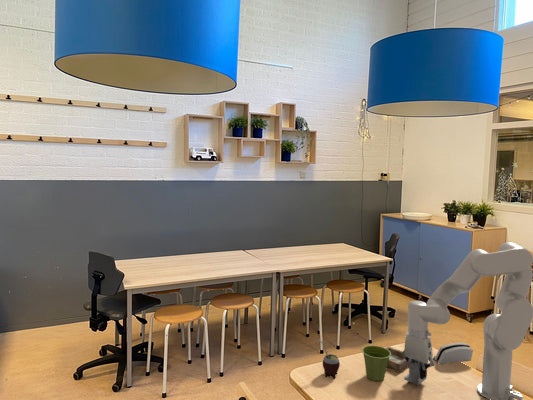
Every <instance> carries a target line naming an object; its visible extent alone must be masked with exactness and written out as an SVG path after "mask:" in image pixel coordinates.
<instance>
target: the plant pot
mask: <svg viewBox="0 0 533 400" xmlns="http://www.w3.org/2000/svg"><path fill="white" fill-rule="evenodd" d="M386 348H387V347H384V346H383V347H382V346H380V345H365V346H363V347H362V349H361V352H362V354H363V355H362V356H363V359H364V365H365V367H364V368H365V374H366V377H367V378H368V379H369V380H370V381H373V382H380V381H381V382H382V381H384V379H385V376H386V371H387V369H388V368H387V363H388V360H389V357H390V356H391V352H390V351H389V350H388V349H386Z"/></svg>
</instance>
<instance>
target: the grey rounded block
mask: <svg viewBox="0 0 533 400" xmlns="http://www.w3.org/2000/svg"><path fill="white" fill-rule="evenodd" d="M473 353H474V350H473V348H472V347H470V345H469V344H468V343H465V342H453V343H448V344H445V345H442V346H440V347H439V349H438V350H437V353H436V355H434V356H433V359H434V361H437V364H438V363H439V365H445V363H447V364H455V362H456V363H464V362H471V361H472V357H473Z"/></svg>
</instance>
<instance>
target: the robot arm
mask: <svg viewBox="0 0 533 400" xmlns="http://www.w3.org/2000/svg"><path fill="white" fill-rule="evenodd" d="M532 265H533V254H532V252H531V251H530V250H528V249H527V248H525V247H524V246H522V245H520V244H518V243H516V242H511V241H507V242H503V243H502V244H500V245H499V247H498V250H497V251H495V252H488V251H486V250H484V249H481V248H476V249H473V250H471V251H470V252H469V253H468V254H467V255H466V257H465V258H464V259H463V261H462V262H461V263H460V265H459V266H458V267H457V268H456V269H455V271H454V272H453V274H451V276H449V278H447V279H446V280H444V282H442V283H441V284H440V285H439V286H438V287H437V288H436V289H435V290H434V291H433V293H432V294H431V295H430V297H429V298H428V299H427V301H426V302H425V301H423V300H422V301H421V300H411V301H409V302H408V305H407V320H408V321H407V333H406V335H405V342H404V350H402V353H401V355H402V356H403V357H404V358H405V359H406V361H407V362H408V365H409V362H410V361H412V360H416V361H419V362H421V364H422V369H421V379H424V378H425V377H426V376H428V374H427V372H428V370H427V369H430V368H431V367H434V366H435V365H436V362H435V359H434V360H433V357H434V356H433V344H432V340H431V337H432V332H430V331H429V323H431V324H436V325H445V324H448V322H449V321H450V319H451V313H450V310H449V309H448V306H449V305H450V303H451V302H452V301H453V300H454V299H455V298H456V297H458V296H459V295H462V294H466V293H470V292H471V291H472V290H473V289H474V287H475V286H476V285H477V284H478V282H479V281H480V280H481V279H482V278H483V277H495V276H501V275H502V276H503V275H505V276H504V279H503V281H502V284H501V287H500V290H499V292H498V294H497V297H496V300H495V305H496V307H497V308H498V309H499V311H500V312H501V313H491V314H489V315H487V317H486V318H484V321H483V343H484V344H483V360H482V378H481V379H482V380H481V383H479V384H478V385H477V388H476V389H477V392H479V393H478V394H479V395H480V394H481V395H482V397H483V396H484V397H486V398H488V399H491V400H523V399H524V396H523V395H522V392H520V391H517V390H514V389H513V386H514V385H511V382H512V381H511V380H512V365H513V363H512V362H513V351H514V350H516V349H518V348H519V347H520V346H521V345H522V343H523V341H524V339H525V337H526V335H527V333H528V330H529V328H530V325H531V323H532V320H533V306H532V304H531V302H530V301H529V300H528V299H527V297H528V294H529V291H530V289H531V288H530V287H531V286H532V285H531V284H532V283H533V267H532ZM481 395H480V396H481ZM484 397H483V398H484ZM486 398H485V399H486ZM488 399H487V400H488Z"/></svg>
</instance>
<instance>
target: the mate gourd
mask: <svg viewBox="0 0 533 400" xmlns="http://www.w3.org/2000/svg"><path fill="white" fill-rule="evenodd" d="M317 340H318V341H319V343H321V344H322V347H323V348H324V350H325V353H326V355H325V356H324V357H323V359H322V367H323V371H324V377H325V378H328V377H331V376H332V377H331V378H333V379H334V380H335V378H336V379H337V377H336V376H337V374H338V371H339V369H340V366H341V365H340V359H339V357H338V356H337V355H335V354H332V353H329V354H328V351H327V348H326V345H325V343H324V342H322V341H321V340H320V339H317ZM327 376H328V377H327Z"/></svg>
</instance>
